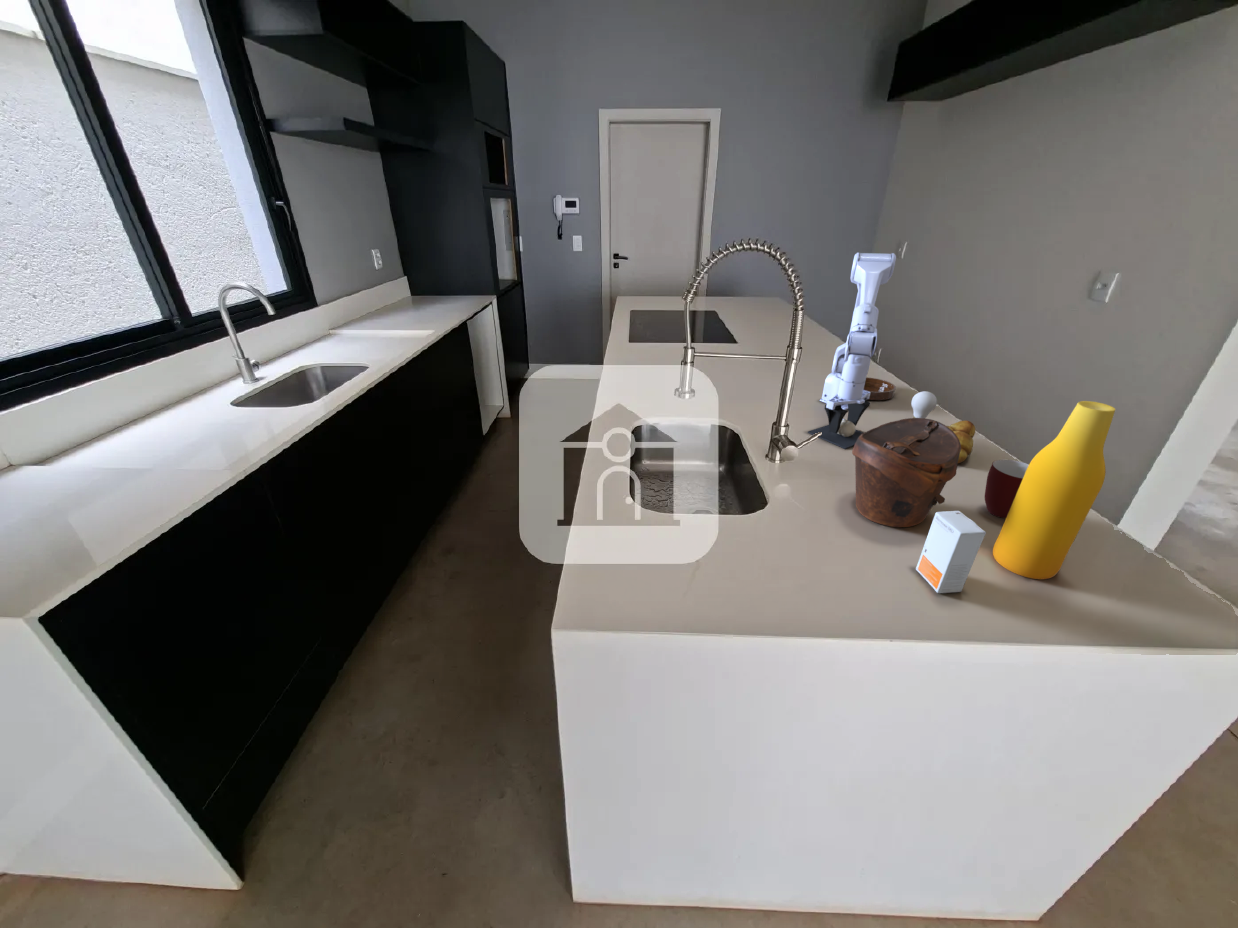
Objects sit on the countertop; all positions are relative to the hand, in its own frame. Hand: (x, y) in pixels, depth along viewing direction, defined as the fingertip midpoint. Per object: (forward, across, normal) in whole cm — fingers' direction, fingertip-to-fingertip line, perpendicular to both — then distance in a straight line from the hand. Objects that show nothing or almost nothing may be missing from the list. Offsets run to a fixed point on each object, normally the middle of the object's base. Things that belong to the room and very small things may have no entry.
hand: (842, 429), depth 132 cm
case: (+2, -23, -29) cm, 37 cm away
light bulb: (+2, +23, -7) cm, 24 cm away
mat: (+2, 0, 0) cm, 2 cm away
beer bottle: (+2, -18, -51) cm, 54 cm away
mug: (+2, -4, -42) cm, 42 cm away
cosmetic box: (+2, -35, -46) cm, 58 cm away
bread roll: (+2, +12, -21) cm, 24 cm away
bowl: (+2, +35, +17) cm, 39 cm away
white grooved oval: (+2, 0, 0) cm, 2 cm away
